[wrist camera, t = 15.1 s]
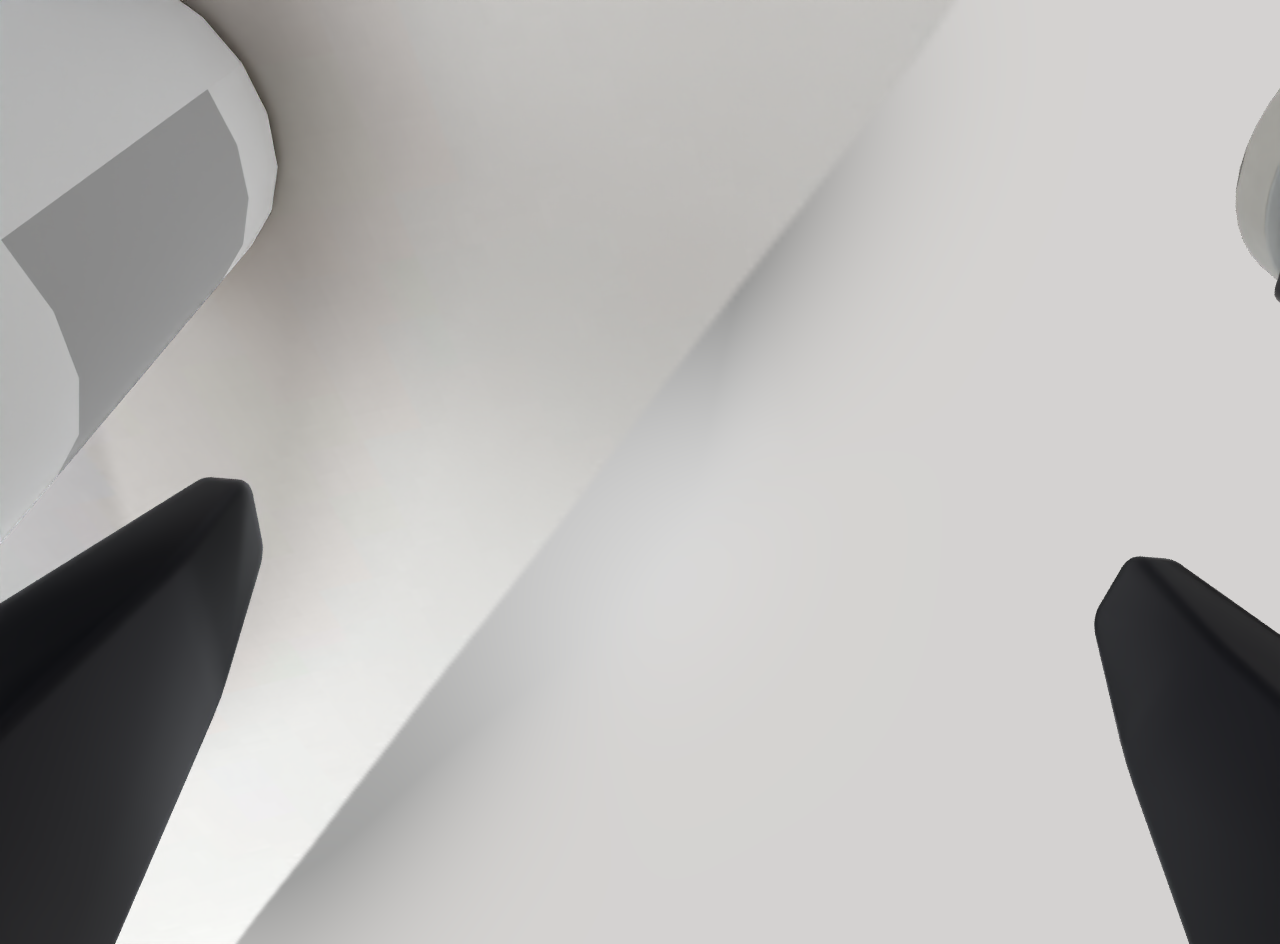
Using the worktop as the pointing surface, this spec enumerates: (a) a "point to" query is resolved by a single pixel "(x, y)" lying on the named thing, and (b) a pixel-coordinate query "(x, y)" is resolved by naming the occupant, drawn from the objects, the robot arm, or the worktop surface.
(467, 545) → the worktop surface
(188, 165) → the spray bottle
